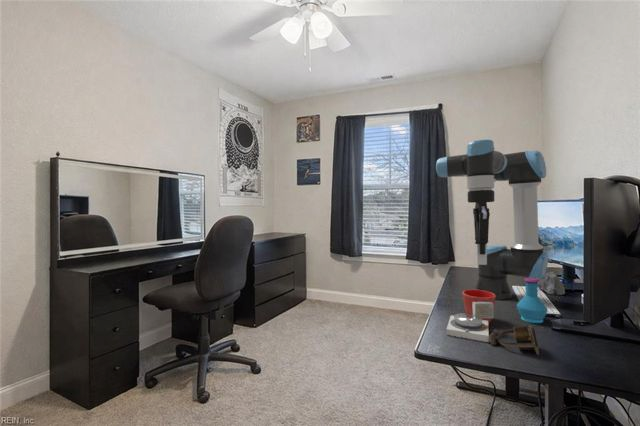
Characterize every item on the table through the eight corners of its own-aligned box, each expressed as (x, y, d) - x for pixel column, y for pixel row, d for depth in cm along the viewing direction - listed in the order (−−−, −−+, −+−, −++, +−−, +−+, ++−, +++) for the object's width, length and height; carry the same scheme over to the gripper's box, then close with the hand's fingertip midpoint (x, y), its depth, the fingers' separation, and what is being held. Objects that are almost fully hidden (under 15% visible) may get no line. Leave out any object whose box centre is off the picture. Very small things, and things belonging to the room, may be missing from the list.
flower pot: (500, 325, 105) (500, 298, 105) (466, 323, 107) (466, 296, 107) (490, 315, 116) (489, 289, 115) (459, 313, 118) (459, 288, 118)
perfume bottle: (543, 317, 113) (543, 277, 112) (550, 326, 104) (550, 282, 104) (514, 313, 116) (514, 275, 116) (519, 322, 108) (518, 280, 108)
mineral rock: (536, 287, 154) (536, 267, 154) (563, 290, 148) (563, 269, 147) (536, 293, 144) (536, 272, 143) (565, 296, 137) (565, 274, 137)
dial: (461, 328, 97) (460, 307, 97) (450, 319, 106) (450, 299, 106) (499, 328, 97) (499, 306, 97) (485, 318, 106) (485, 298, 105)
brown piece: (533, 342, 81) (547, 325, 86) (484, 323, 91) (499, 309, 96) (532, 365, 82) (546, 347, 88) (484, 344, 92) (499, 329, 98)
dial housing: (450, 320, 111) (450, 314, 111) (488, 326, 105) (488, 319, 105) (446, 335, 98) (446, 327, 98) (488, 342, 93) (488, 334, 92)
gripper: (499, 188, 88) (500, 268, 88) (489, 190, 100) (490, 260, 101) (470, 189, 90) (471, 267, 91) (464, 191, 103) (465, 260, 103)
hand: (481, 264), depth 96 cm, fingers closed
